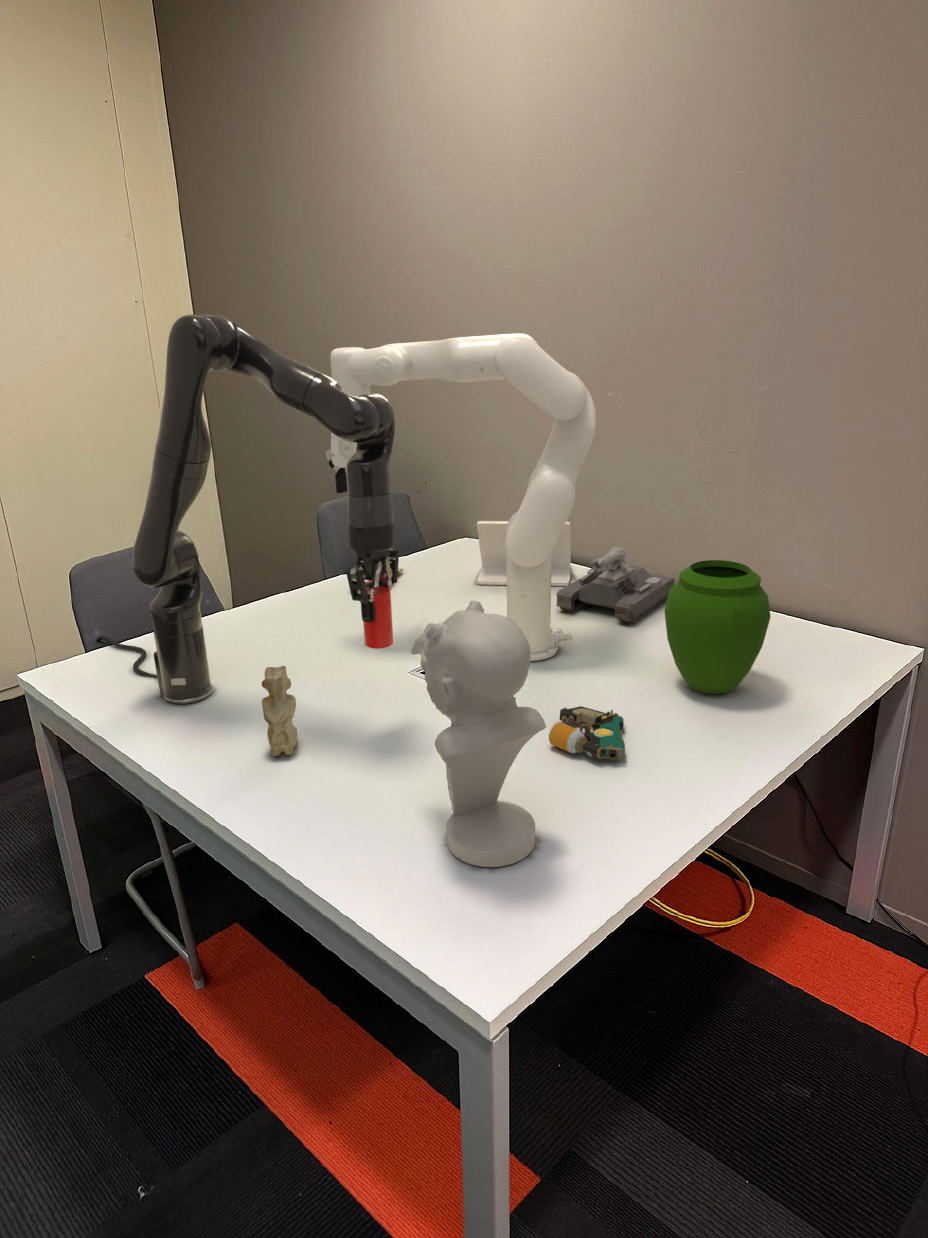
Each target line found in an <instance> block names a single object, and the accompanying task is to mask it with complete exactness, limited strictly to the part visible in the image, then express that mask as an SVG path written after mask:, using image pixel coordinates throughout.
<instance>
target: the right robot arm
mask: <svg viewBox="0 0 928 1238" xmlns="http://www.w3.org/2000/svg"><path fill="white" fill-rule="evenodd" d="M329 358H330V370H331V371H330V372H331V378H333V379H334V380H336V381H337V382H338V383H339V385H340V387H341V389H342V392H344V393H346V394H349V395H352V396H359V395H364V394H368V393H372V391H371V385H372V386H379V387H380V386H381V387H390V386H393V385H396V384H398V383H399V382H404V381H416V380H418V381H419V380H444V381H448V382H452V383H471V382H473V383H474V382H487V381H502V380H506V381H508V382H509V383H510V384H511V385H512V386H513V387H514V388H516V389H517V391H519V392H520V393H521V394H522V395H524V396H525V397H526V398H527V399H528V400H529V401H531V402H532V403H533V404H534V405H536V406H537V407H538V408H539V409H540V410H542V411H543V412H544V414H546V415H548V416H549V417H550V418H551V419H553V424H552V428H551V432H550V434H549V436H548V438H547V441H546V444H545V447H544V448H543V451H542V452H541V455H540V457H539V459H538V462H537V463H536V466H535V467H534V469H533V471H532V473H531V475H530V476H529V478H528V481H527V486H526V487H527V489H526V492H525V495H524V497H523V499H522V502H521V503H520V507H519V509H518V510H517V511H516V512H514V513H513V514H512V515H511V517H510V518H509V520H507V521H508V524H507V527H506V536H505V546H506V553H507V585H506V617H507V618H509V619H511V620H512V621H513V622H514V623H515V624H516V625H517V626H518V627H519V628H520V629H521V630H522V632H523V633H524V634H525V636H526V638H527V640H528V643H529V646H530V652H531V653H530V655H531V656H530V662H535V661H536V662H537V661H543V660H547V659H550V658H552V657H554V656H555V655H556V654H557V652H558V643H559V642H568V641H569V642H570V641H572V640H573V633H572V632H571V631H563V629H556V630H553V629H552V628H551V625H552V621H551V618H552V616H551V613H552V609H551V608H552V586H551V552H552V550H553V548H554V546H555V544H556V542H557V540H558V538H559V536H560V534H561V532H562V529H563V527H564V525H565V523H566V522H568V519H569V517H570V514H571V512H572V510H573V509H574V508H573V507H574V504H575V501H576V493H577V492H576V482H577V480H578V476H579V475H580V472H581V470H582V467H583V465H584V463H585V460H586V458H587V456H588V454H589V451H590V449H591V446H592V443H593V441H594V438H595V433H596V427H597V414H596V407H595V403H594V400H593V397H592V395H591V393H590V391H589V390H588V388H587V387H586V385H585V383H584V382H583V381H582V379H581V378H580V376H578V375H576V374H575V373H573V372H572V371H568V370H567V369H566V368H565V367H564V366H562V365H561V364H560V363H559V362H557V361H556V360H555V359H554V358H553V357H551V356H550V354H548V353H547V352H546V351H545V350H544V349H543V348H542V347H541V346H539V344H538V342H537V341H536V340H535V338H533V337H532V336H530V335H529V334H526V333H521V332H520V333H518V332H517V333H516V332H515V333H502V334H501V333H500V334H490V335H489V334H488V335H475V336H461V337H460V336H459V337H458V336H457V337H449V338H445V339H438V340H427V341H413V342H397V343H388V344H384V345H381V346H378V347H373V348H372V347H371V348H366V349H365V348H364V347H359V346H349V347H347V346H345V347H337V348H334V349H333V350H332V351H331V352H330V357H329ZM356 445H357V443H354V442H349V441H346V440H344V439H341V438H339V437H338V436H336V435H335V434H333V433H332V432H331V431H330V448H329V449H328V450H326V451H325V453H324V454H325V456H326V459H327V461H328V466H329V467H330V468H331V470H332V472H331V473H332V474H333V475H334V479H335V491H336V492H335V493H336V494H343V493H348V490H347V477H346V465H347V462H348V460H349V459H350V458H351V457H352V456H353V455H354V454H355V452H356Z"/></svg>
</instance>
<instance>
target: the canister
mask: <svg viewBox="0 0 928 1238" xmlns="http://www.w3.org/2000/svg"><path fill="white" fill-rule="evenodd" d="M366 589H367V594H368V593H369V588H368V587H367V588H366ZM391 591H392V590H390V589H389V588H387V587H383V586H378V587H377V588H376V589H375V593H374V600H373V601H374V604H375V621H374V622H372V623H369V622H364V621H363V620H362V627H363V639H364V641H363V642H364V645H365V647H367V648H368V649H375V650H376V649H377V650H378V649H386V648H390V647H391V646H392V645H393V644H394V629H393V628H394V627H393V612H392V611H393V609H392V592H391Z"/></svg>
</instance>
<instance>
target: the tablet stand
mask: <svg viewBox="0 0 928 1238" xmlns="http://www.w3.org/2000/svg"><path fill="white" fill-rule="evenodd" d="M508 521H509V520H505V521H504V520H477V522H476V531H477V537H478V544H479V551H480V557H481V558H480V559H481V570H480V573H479V575H478V577H477V580H476V581H477V582H476V584H478V585H484V586H485V585H486V586H487V585H489V586H490V585H491V586H507V553H506V546H505V536H506V527H507V524H508ZM571 560H572V558H571V522H569V521H566V523H565V525H564V527H563V529H562V532H561V534H560V536H559V538H558V540H557V542H556V544H555V546H554V548H553V550H552V552H551V587H556V586H557V587H566V586H567V585H569V584H570V580H571V579H570V578H571V565H572V564H571Z"/></svg>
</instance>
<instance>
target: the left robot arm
mask: <svg viewBox="0 0 928 1238" xmlns="http://www.w3.org/2000/svg"><path fill="white" fill-rule="evenodd" d="M166 347H167V348H166V361H165V364H166V365H165V377H164V378H165V379H164V380H165V381H164V392H163V394H164V395H163V400H162V407H161V415H160V422H159V428H158V433H157V434H158V435H157V438H156V442H155V447H154V453H153V460H152V466H151V467H152V468H151V474H150V481H149V485H148V489H147V495H146V501H145V506H144V510H143V513H142V519H141V521H140V524H139V527H138V531H137V534H136V535H137V536H136V538H135V541H134V545H133V549H132V555H131V565H132V570H133V573H134V575H135V577H136V579H137V580H138V581H139V582H140V584H142V585H143V586H144V587H147V588H152V589H157V588H160V589H159V591H158V593H157V594H156V596H155V597H154V598H153V599H152V600H151V601H150V604H149V615H150V619H151V625H152V632H153V637H154V643H155V650H156V651H155V652H153V662H154V666H155V672H156V674H154V673H149V672H147V671H144V670H142V669H141V668H139V665H140V664H141V662H143V661H144V660H145V659H146V657H147V651H146V650H145V649H144V648H142V647H139V646H134V645H129V644H122V643H120V642H117V641H115V640H113V639H112V638H110V637H108V636H106V635H98V637H96V639H95V642H96V643H97V642H101V641H102V640H103V641H105V642H107V643H109V644H110V645H112V646H114V647H116V648H120V649H124V650H130V651H136V652H139V653H141V655H140V657H138V658H137V659H136V660H135V662H134V663H133V664H132V668H133V670H134V671H135V673H137V674H138V675H139V676H143V677H146V678H152V679H157V685H158V690H159V694H160V695H159V696H160V697H161V698H163V699H164V701H166V702H168V703H170V704H175V705H184V704H185V705H187V704H193V703H196V702H199V701H202V700H204V699H207V698H208V697H209V696H211V694H212V693H213V686H212V682H211V674H210V666H209V660H208V654H207V648H206V647H207V646H206V639H205V634H204V625H203V620H202V612H201V607H200V606H201V601H202V597H203V590H202V578H201V566H200V559H199V553H198V549H197V547H196V545H195V543H194V541H193V540H192V538H191V537H190V536H189V535H187V533H184V532H182V531H179V527H180V525H181V523H182V520H183V519H184V517H185V515H186V514H187V512H188V511H189V509H190V507H191V506H192V505H193V503H194V502H195V500H196V499H197V497H198V495H199V494H200V492H201V490H202V488H203V487H204V484H205V481H206V478H207V475H208V469H209V463H210V459H211V454H212V443H211V436H210V433H209V430H208V427H207V423H206V421H205V419H204V414H203V409H202V407H203V406H202V404H203V403H202V402H203V395H204V391H205V384H206V381H207V378H208V375H209V373H216V372H223V371H226V370H227V371H231V372H235V373H238V374H241V375H245V376H248V377H251V378H253V379H255V380H256V381H258V382H259V383H261V384H262V386H264V387H265V388H266V389H267V390H268V391H269V392H270V393H271V395H272V396H274V397H275V398H276V399H277V400H278V401H280V402H281V403H283V404H285V405H286V406H288V407H290V408H292V409H294V410H296V411H298V412H301V413H302V414H304V415H307V416H308V417H311V418H314V419H315V420H316V421H317V422H318V423H319V424H320V425H322V426H323V427H324V428H326V429H327V430H328V431H329V432H330V433H331V432H332V433H333V434H335V435H336V436H338V437H339V438H341V439H344V440H346V441H349V442H354V443H357V445H356V452H355V454H354V455H353V456H352V457H351V458H350V459H349V460H348V462H347V465H346V471H345V472H346V477H347V490H348V491H347V502H346V512H347V524H348V537H349V538H348V541H349V547H350V549H351V550H353V551H354V552H355V553H356V561H355V566H353V568H350V567H348V568H347V570H346V571H345V572H346V573H345V574H346V578H347V583H348V587H349V591H350V596H351V600H352V601H355V602H360V611H361V621H362V622H363V621H364V622H369V623H372V622H374V621H375V604H374V601H373V600H374V593H375V589H376V588H377V587H378V586H383V587H387V588H389V589H390V591H392V590H393V587H394V584H397V583H398V578H399V574H398V568H399V563H400V562H399V561H400V550H399V549H398V548H394V547H395V545H396V534H395V533H396V532H395V531H396V530H395V513H394V503H393V497H392V490H391V487H392V486H391V473H390V472H391V471H390V463H391V458H392V453H393V448H394V447H393V446H394V439H395V431H396V417H395V413H394V408H393V406H392V404H391V403H390V401H389V400H388V398H386V396H384V395H382V394H381V393H377V392H371V393H368V394H364V395H359V396H352V395H349V394H346V393H344V392H342V389H341V387H340V385H339V383H338V382H337V381H336V380H334V379H333V378H332V376H329V375H327V374H325V373H323V372H321V371H318V370H316V369H315V368H312V367H310V366H308V365H306V364H303V363H301V362H299V361H297V360H295V359H293V358H291V357H289V356H287V355H285V354H283V353H281V352H280V351H278V350H276V349H274V348H272V347H271V346H269V344H266V343H265V342H263V341H262V340H261V339H259V338H257V337H255V336H254V335H253V334H251V333H250V332H248V331H247V330H246V329H245V328H243V327H242V326H241V325H239V324H238V323H236V322H235V321H233V320H232V319H230V318H228V317H226V316H225V315H222V314H216V313H199V314H198V313H195V314H193V313H192V314H185V315H183V316H180V317H178V318H177V319H176V320H175V322H173V323H172V326H171V328H170V331H169V334H168V338H167V346H166ZM391 569H392V572H391ZM369 580H370V581H372V582H371V583H365V582H366V581H369ZM366 587H368V588H369V593H368V594H367V589H366ZM357 590H359V591H357Z"/></svg>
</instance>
